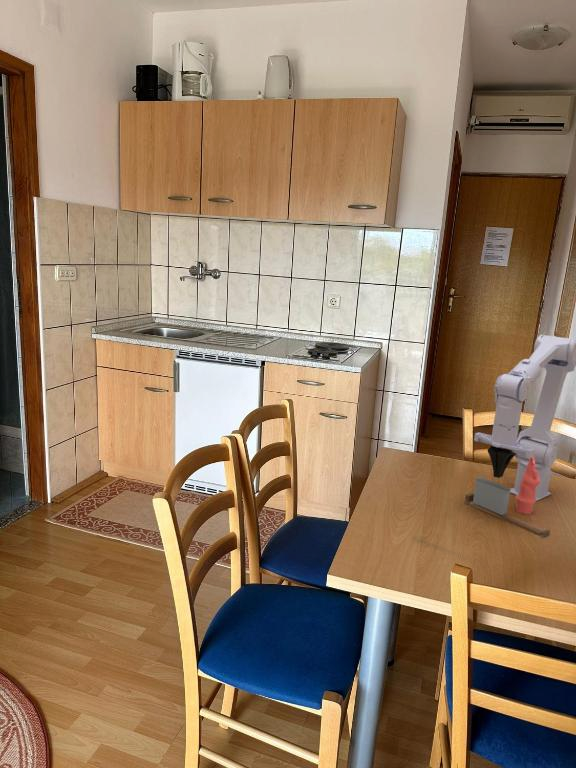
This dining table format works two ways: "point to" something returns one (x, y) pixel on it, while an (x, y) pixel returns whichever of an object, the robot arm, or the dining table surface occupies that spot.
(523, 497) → the figurine
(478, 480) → the screen
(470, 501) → the rail
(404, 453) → the dining table surface
